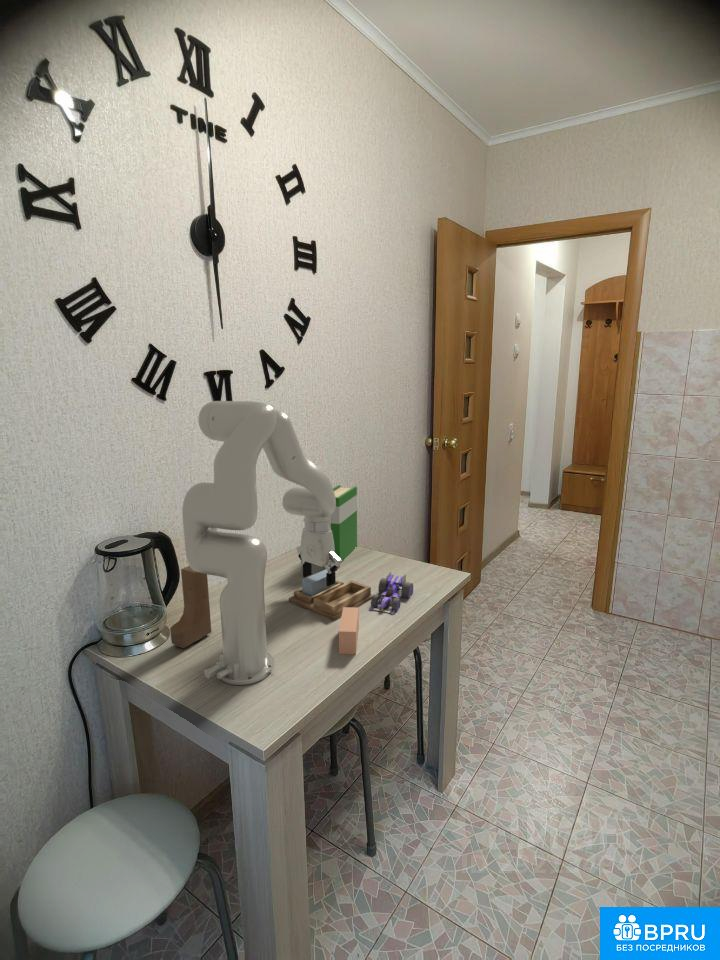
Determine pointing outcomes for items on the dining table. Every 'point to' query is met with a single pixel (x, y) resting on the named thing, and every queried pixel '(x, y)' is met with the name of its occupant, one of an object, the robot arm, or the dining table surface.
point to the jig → (334, 599)
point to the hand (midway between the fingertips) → (318, 580)
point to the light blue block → (315, 583)
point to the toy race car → (391, 593)
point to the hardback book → (344, 521)
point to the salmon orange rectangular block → (349, 630)
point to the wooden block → (192, 609)
